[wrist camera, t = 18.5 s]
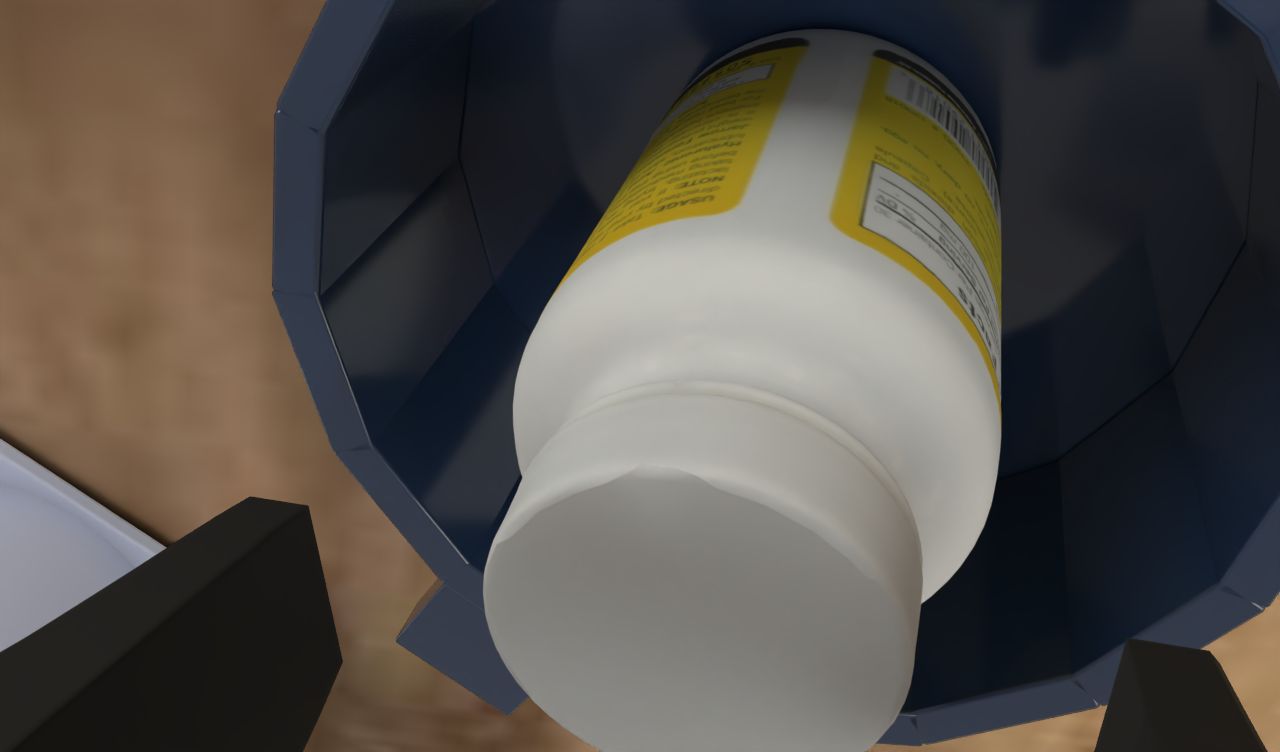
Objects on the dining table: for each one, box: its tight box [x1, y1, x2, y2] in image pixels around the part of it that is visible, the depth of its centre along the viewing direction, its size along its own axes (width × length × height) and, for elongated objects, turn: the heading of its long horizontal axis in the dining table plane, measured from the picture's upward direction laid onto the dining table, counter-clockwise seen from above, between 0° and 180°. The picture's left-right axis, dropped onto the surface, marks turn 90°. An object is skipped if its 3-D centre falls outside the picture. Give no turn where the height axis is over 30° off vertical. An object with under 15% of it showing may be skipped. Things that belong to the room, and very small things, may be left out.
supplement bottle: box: [483, 29, 1001, 752], centre depth 15 cm, size 5×5×10 cm
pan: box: [272, 0, 1280, 746], centre depth 17 cm, size 13×19×6 cm
